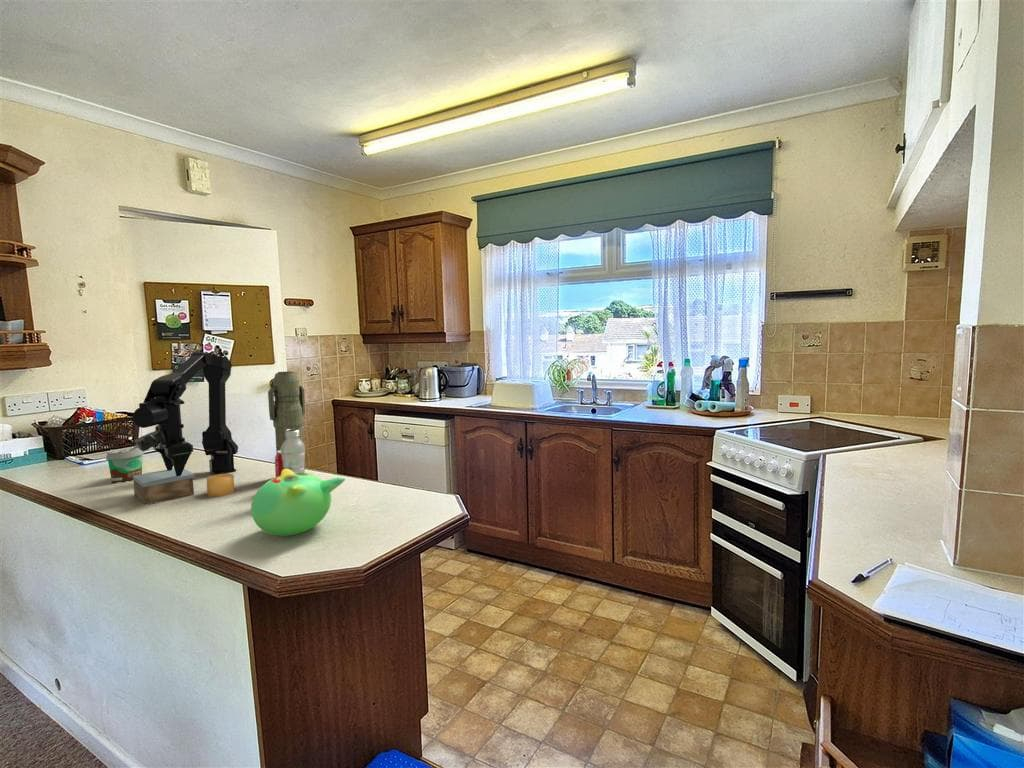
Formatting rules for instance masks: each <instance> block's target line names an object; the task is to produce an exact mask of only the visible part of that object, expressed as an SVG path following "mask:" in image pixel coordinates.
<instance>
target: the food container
mask: <svg viewBox="0 0 1024 768" xmlns="http://www.w3.org/2000/svg"><path fill="white" fill-rule="evenodd" d="M144 454H145V451H142V450H140V449H139V448H138V446H137V445H134V446H133V448H130V449H126V450H124V449H123V450H120V451H118V452H109V453H108V452H107V453H106V458H105V460H106V461H108V462H107V463H108V468H109V473H110V478H111V484H117V483H116V482H122V483H127V482H126V481H129V482H132V481H131V480H133V476H134V475H140V474H143V455H144Z"/></svg>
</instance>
